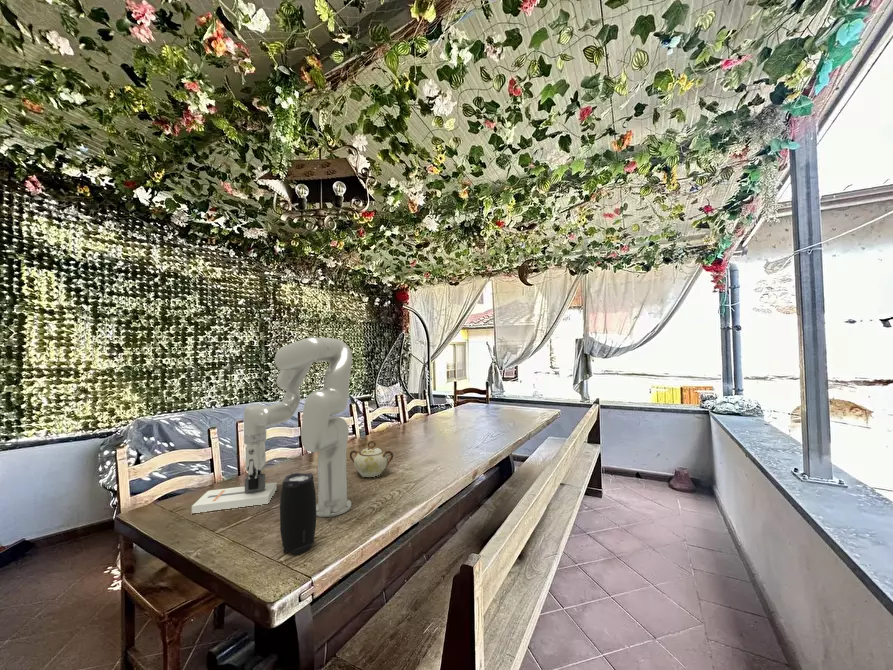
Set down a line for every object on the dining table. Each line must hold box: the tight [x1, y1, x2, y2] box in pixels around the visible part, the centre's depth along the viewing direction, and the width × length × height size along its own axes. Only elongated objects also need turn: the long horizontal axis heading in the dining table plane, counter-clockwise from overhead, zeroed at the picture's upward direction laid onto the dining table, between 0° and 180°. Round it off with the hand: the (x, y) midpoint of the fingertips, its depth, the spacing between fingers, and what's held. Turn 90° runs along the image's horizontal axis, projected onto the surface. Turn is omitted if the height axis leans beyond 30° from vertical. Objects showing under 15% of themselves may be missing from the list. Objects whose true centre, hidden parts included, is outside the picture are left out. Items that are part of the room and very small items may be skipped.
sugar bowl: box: [349, 440, 394, 478], centre depth 151 cm, size 20×15×15 cm
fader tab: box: [244, 473, 266, 493], centre depth 129 cm, size 4×6×5 cm
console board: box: [191, 482, 277, 514], centre depth 127 cm, size 14×24×3 cm, turn 106°
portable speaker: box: [279, 472, 317, 556], centre depth 95 cm, size 9×9×20 cm
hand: (255, 486), depth 128 cm, fingers closed on fader tab, 4 cm apart
